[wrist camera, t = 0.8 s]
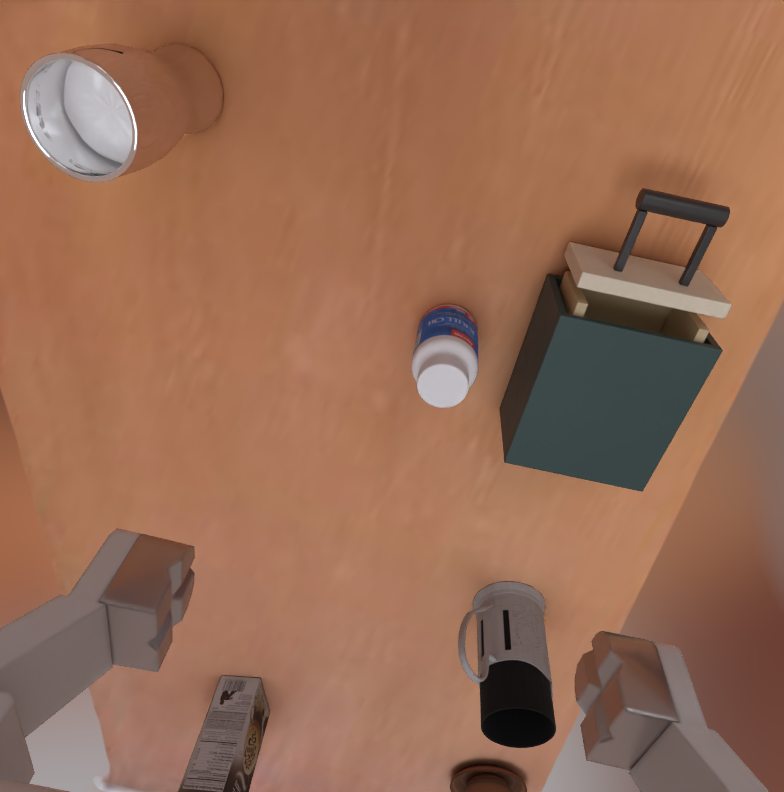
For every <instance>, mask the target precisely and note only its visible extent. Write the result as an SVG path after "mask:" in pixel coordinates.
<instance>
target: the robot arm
mask: <svg viewBox="0 0 784 792" xmlns="http://www.w3.org/2000/svg"><path fill="white" fill-rule="evenodd" d="M194 558H195V551H194V546H191V545H187V544H183V543H178V542H174V541H170V540H166V539H162V538H157V537H153V536H149V535H145V534H140V533H136V532H131V531H127V530H122V529H118V528H117V529H116V530H115V531H113V532H112V533H111V534H110V535H109V536H108V538H107V539H106V541H105V542H104V544H103V545H102V547H101V548H100V550H99V551H98V553H97V554H96V555H95V557H94V558H93V560H92V561H91V563H90V564H89V566H88V567H87V569H86V570H85V572H84V573H83V575H82V576H81V578H80V579H79V581H78V582H77V584H76V585H75V587H74V588H73V590H72V591H71V593H70V594H69V596H65V595H59V596H57V597H56V598H54V599H52V600H50V601H48V602H47V603H45V604H43V605H41V606H39V607H38V608H36V609H35V610H32V611H31V612H29V613H27V614H25V615H24V616H22V617H20V618H18V619H16V620H15V621H13V622H11V623H9V624H8V625H6V626H4V627H2V628H0V792H69V791H64V790H58V789H53V788H49V787H44V786H38V785H33V784H29V782H30V780H31V779H32V777H33V775H34V769H33V765H32V761H31V758H30V755H29V751H28V747H27V744H26V740H25V737H26V736H28V735H29V734H30V733H31V732H33V731H34V730H35V729H36V728H38V727H39V726H40V725H41V724H43V723H44V722H45V721H46V720H48V719H49V718H50V717H51V716H52V715H54V714H55V713H56V712H58V711H59V710H60V709H61V708H63V707H64V706H65V705H66V704H67V703H69V702H70V701H71V700H73V699H74V698H75V697H76V696H77V695H79V694H80V693H81V692H82V691H84V690H85V689H86V688H87V687H89V686H90V685H91V684H92V683H94V682H95V681H96V680H97V679H99V678H100V677H101V676H102V675H104V674H105V673H106V672H107V671H109V670H110V669H111V668H112V667H113V666H112V664H114V665H119V666H125V667H131V668H136V669H142V670H148V671H153V672H158V671H159V669H160V667H161V664H162V662H163V660H164V658H165V656H166V654H167V652H168V649H169V647H170V645H171V643H172V627H173V626H174V625H176V624H177V623H179V622H180V621H182V619H183V617H184V614H185V612H186V610H187V608H188V605H189V601H190V598H191V595H192V591H193V586H194V572H193V571H192V569H191V568H190V567H191V565H192V562H193V560H194ZM592 646H593V650H592V651H590V652H587V653H585V654H583V655H582V657H581V659H580V661H579V663H578V664H577V669H576V674H575V694H576V701H577V703H578V705H579V706H580V707H581V709H582V710H583V711H584V713H585V714H586V717H585V718H584V720H583V722H582V724H581V731H582V737H583V743H584V749H585V755H586V760H587V761H592V762H596V763H600V764H604V765H609V766H613V767H617V768H622V769H626V770H630V772H629V774H630V775H631V777H632V779H633V780H634V782H635V783H636V785H637V787H638V788H639V790H640V792H769V791H768V790H767V789H766V788H765V786H764V785H763V784H762V783H761V782H760V781H759V780H758V778H757V777H756V776H755V775H754V774H753V773H752V772H751V771H750V769H749V768H748V767H747V766H746V765H745V764H744V763H743V761H741V759H740V758H739V757H738V756H737V755H736V753H735V752H734V751H733V750H732V749H731V748H730V747H729V746H728V744H727V743H726V742H725V741H724V740H723V739H722V738H721V736H720V735H718V733H717V732H716V731H714V730H710V729H708V728H707V725H706V722H705V719H704V716H703V713H702V710H701V708H700V705H699V702H698V699H697V696H696V693H695V690H694V687H693V685H692V682H691V679H690V676H689V673H688V670H687V667H686V665H685V662H684V659H683V656H682V653H681V651H680V650H679V649H678V648H677V647H676V646H672V645H667V644H662V643H657V642H653V641H649V640H645V639H641V638H635V637H630V636H625V635H620V634H615V633H610V632H605V631H601V632H599V633H597V634H596V635H595V637H594V638H593V640H592Z"/></svg>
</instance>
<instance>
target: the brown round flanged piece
mask: <svg viewBox="0 0 784 792" xmlns="http://www.w3.org/2000/svg"><path fill="white" fill-rule="evenodd" d="M450 789H451V792H527V788H526V785H525V783H524V782H523V780H522V779H521V778H520V777H518V776H517V775H516V774H515V773H513V772H511V771H509V770H507V769H504V768H500V767H496V766H486V765H482V766H473V767H469V768H466V769H463V770H461V771H460V772H458V773H457V774H456V775H455V776H454V777H453V778H452V780H451V784H450Z"/></svg>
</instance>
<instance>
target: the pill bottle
mask: <svg viewBox="0 0 784 792" xmlns="http://www.w3.org/2000/svg"><path fill="white" fill-rule="evenodd" d="M412 373H413V377H414V379H415V381H416V382H417V389H418V392H419V394H420V396H421V397H422V399H423V400H424V401H426V402H427V403H428V404H430V405H432V406H435V407H441V408H446V407H452V406H454V405H457V404H458V403H460V402H461V401H462V400H463V399H464V398H465V396H466V395H467V392H468V389H469V387H470V386H471V385H472V384H473V383H474V381H475V379H476V376H477V373H478V328H477V324H476V322H475V320H474V318H473V317H472V315H471V314H470V313H469V312H468V311H466V310H465V309H463V308H461V307H459V306H455V305H440V306H437V307H434V308H432V309H431V310H429V311H428V312H427V313H426V314H425V315H424V316H423V318H422V319H421V321H420V324H419V327H418V331H417V337H416V342H415V348H414V353H413V358H412Z"/></svg>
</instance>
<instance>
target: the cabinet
mask: <svg viewBox="0 0 784 792" xmlns="http://www.w3.org/2000/svg"><path fill="white" fill-rule="evenodd" d="M562 279H563V277H560V276H556V275H551V274H547V276H546V279H545V282H544V285H543V288H542V291H541V293H540V296H539V299H538V302H537V305H536V308H535V310H534V313H533V316H532V319H531V322H530V325H529V327H528V330H527V333H526V336H525V339H524V342H523V344H522V347H521V350H520V353H519V356H518V359H517V361H516V364H515V367H514V370H513V373H512V376H511V378H510V381H509V384H508V387H507V390H506V393H505V395H504V398H503V401H502V404H501V407H500V418H501V429H502V440H503V451H504V462H505V463H510V464H514V465H519V466H524V467H529V468H533V469H538V470H543V471H547V472H552V473H557V474H562V475H566V476H571V477H576V478H580V479H585V480H590V481H595V482H599V483H604V484H609V485H614V486H618V487H623V488H628V489H632V490H637V491H643V490H644V488H645V486H646V484H647V483H648V481H649V479H650V477H651V476H652V474H653V472H654V470H655V469H656V467H657V465H658V463H659V462H660V460H661V458H662V456H663V455H664V453H665V451H666V449H667V448H668V446H669V444H670V442H671V441H672V439H673V437H674V435H675V434H676V432H677V430H678V428H679V426H680V425H681V423H682V421H683V419H684V418H685V416H686V414H687V412H688V411H689V409H690V407H691V405H692V404H693V402H694V400H695V398H696V397H697V395H698V393H699V391H700V390H701V388H702V386H703V384H704V383H705V381H706V379H707V377H708V376H709V374H710V372H711V370H712V369H713V367H714V365H715V363H716V361H717V360H718V358H719V356H720V354H721V353H722V351H723V350H722V349H721V348H720V346H719V345H718V344H717V342H716V341H715V340H714V338H713V337H712V336H711V334H710V333H708V335H707V337H706V339H705V341H704V342H703V343H700V342H696V341H691V340H686V339H682V338H677V337H673V336H668V335H663V334H659V333H654V332H650V331H645V330H640V329H636V328H631V327H627V326H622V325H617V324H613V323H608V322H603V321H599V320H594V319H590V318H585V317H580V316H576V315H571V314H567V312H566V309H565V306H564V303H563V300H562V297H561V294H560V291H559V287H560V284H561V282H562Z"/></svg>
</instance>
